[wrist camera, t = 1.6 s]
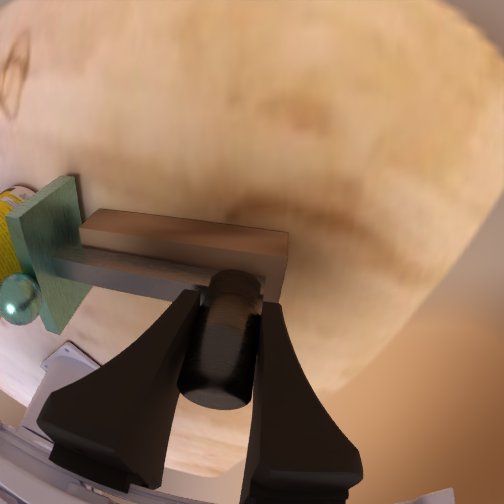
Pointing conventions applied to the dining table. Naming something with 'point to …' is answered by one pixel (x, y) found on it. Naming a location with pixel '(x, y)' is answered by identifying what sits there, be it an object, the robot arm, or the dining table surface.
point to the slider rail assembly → (135, 282)
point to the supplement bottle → (3, 254)
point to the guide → (191, 244)
